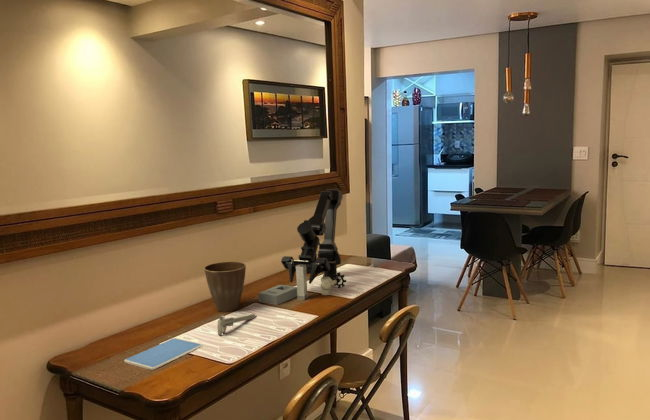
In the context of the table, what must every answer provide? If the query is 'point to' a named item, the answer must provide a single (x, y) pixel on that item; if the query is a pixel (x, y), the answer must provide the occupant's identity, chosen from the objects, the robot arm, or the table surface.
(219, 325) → the caliper
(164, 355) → the tablet computer
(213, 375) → the table surface
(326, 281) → the valve
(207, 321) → the table surface
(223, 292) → the plant pot
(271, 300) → the bore block
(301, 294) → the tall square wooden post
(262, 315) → the table surface
